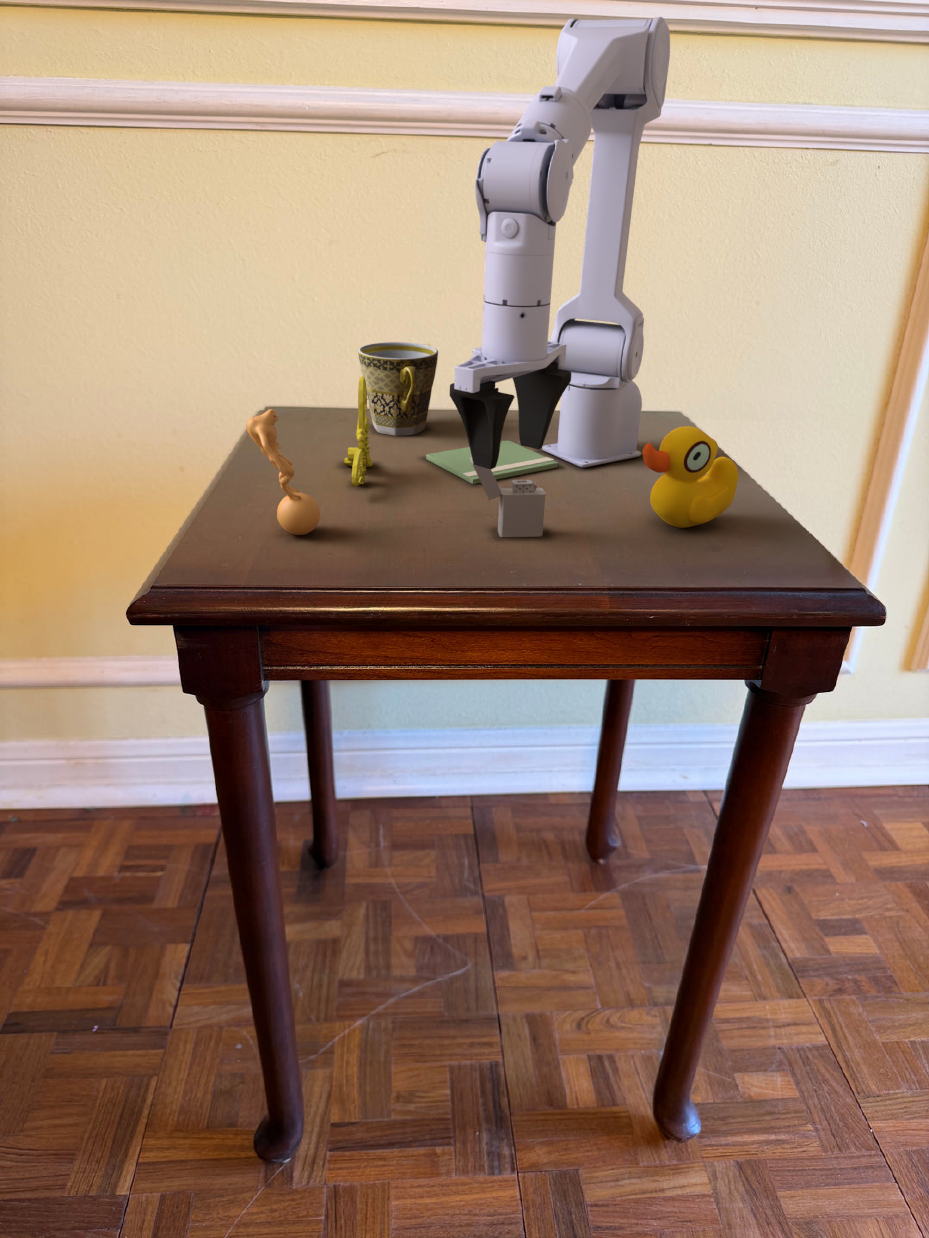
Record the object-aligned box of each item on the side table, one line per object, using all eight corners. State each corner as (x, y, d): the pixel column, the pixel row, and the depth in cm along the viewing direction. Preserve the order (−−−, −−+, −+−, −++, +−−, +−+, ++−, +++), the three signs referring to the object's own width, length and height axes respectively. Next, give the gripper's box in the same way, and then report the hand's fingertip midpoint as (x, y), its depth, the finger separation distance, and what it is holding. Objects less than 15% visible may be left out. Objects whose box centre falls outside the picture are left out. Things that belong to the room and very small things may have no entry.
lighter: (539, 529, 86) (545, 450, 82) (542, 536, 85) (548, 456, 81) (467, 530, 85) (469, 451, 81) (469, 538, 84) (472, 456, 80)
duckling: (650, 543, 84) (664, 441, 79) (618, 523, 88) (630, 425, 83) (743, 526, 88) (762, 429, 83) (709, 508, 92) (725, 414, 88)
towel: (507, 444, 110) (508, 439, 110) (558, 467, 103) (558, 461, 102) (425, 459, 104) (425, 453, 104) (472, 484, 97) (473, 478, 96)
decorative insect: (370, 524, 99) (362, 481, 90) (341, 524, 99) (330, 480, 90) (377, 425, 103) (369, 374, 94) (349, 424, 103) (339, 373, 94)
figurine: (327, 549, 80) (320, 420, 75) (260, 554, 79) (247, 423, 73) (315, 515, 87) (308, 395, 82) (253, 520, 86) (242, 398, 80)
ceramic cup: (353, 420, 118) (351, 343, 113) (425, 415, 120) (426, 340, 116) (374, 449, 107) (372, 365, 102) (453, 444, 109) (455, 362, 105)
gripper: (525, 288, 82) (516, 430, 88) (426, 305, 72) (425, 465, 78) (590, 296, 78) (577, 445, 85) (497, 316, 68) (489, 483, 74)
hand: (508, 456), depth 81 cm, fingers open, 7 cm apart
